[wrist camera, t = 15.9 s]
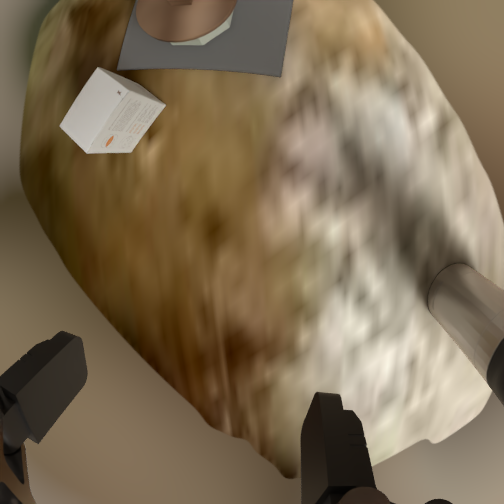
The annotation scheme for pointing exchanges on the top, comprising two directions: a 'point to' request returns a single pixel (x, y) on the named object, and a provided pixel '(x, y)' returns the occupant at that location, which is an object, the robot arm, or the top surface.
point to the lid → (182, 18)
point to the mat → (218, 43)
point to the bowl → (210, 36)
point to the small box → (110, 114)
